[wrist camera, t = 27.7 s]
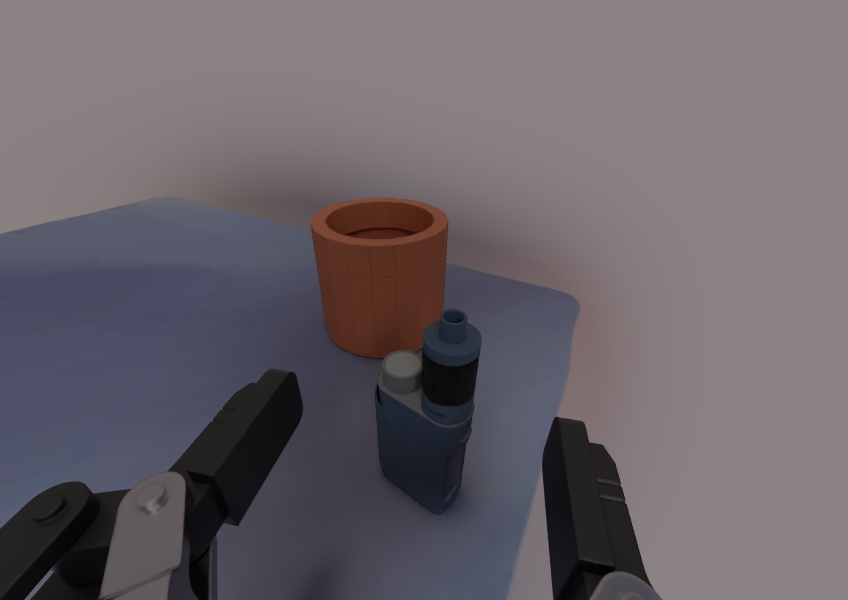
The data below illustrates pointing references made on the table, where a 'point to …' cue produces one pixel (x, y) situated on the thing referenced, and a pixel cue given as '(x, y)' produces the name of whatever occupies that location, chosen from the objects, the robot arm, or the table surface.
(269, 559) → the table surface
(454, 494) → the vaping device
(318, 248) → the terracotta planter pot
